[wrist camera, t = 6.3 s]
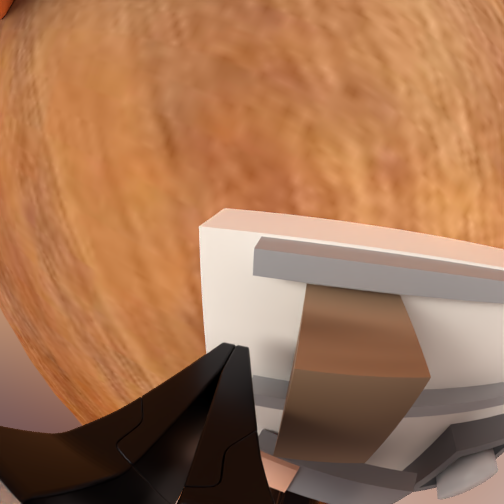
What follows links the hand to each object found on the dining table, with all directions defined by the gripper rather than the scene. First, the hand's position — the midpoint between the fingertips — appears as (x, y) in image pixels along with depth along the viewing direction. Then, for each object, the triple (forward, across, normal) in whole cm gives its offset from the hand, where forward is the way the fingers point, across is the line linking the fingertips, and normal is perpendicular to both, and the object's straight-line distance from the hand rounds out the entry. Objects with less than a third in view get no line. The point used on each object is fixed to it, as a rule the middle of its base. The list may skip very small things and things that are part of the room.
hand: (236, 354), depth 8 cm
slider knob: (+1, -3, 0) cm, 4 cm away
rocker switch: (0, -5, +10) cm, 11 cm away
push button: (0, -15, +10) cm, 18 cm away
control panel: (+4, -9, +5) cm, 11 cm away
